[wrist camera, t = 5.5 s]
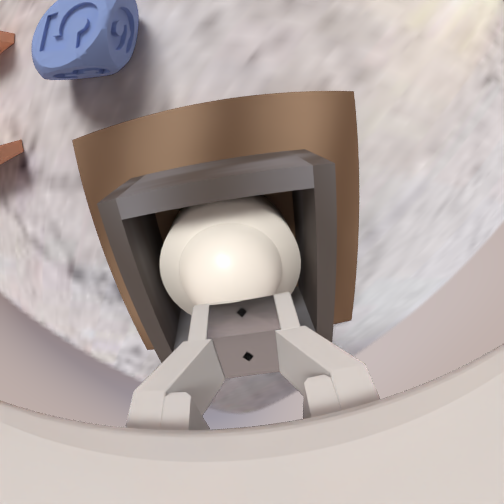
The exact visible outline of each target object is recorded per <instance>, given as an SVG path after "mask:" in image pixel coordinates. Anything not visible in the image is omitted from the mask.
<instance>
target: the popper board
mask: <svg viewBox="0 0 504 504" xmlns="http://www.w3.org/2000/svg"><path fill="white" fill-rule="evenodd" d="M72 141H73V146H74V151H75V155H76V160H77V164H78V169H79V173H80V177H81V181H82V184H83V188H84V192H85V195H86V199H87V202H88V206H89V209H90V212H91V216H92V219H93V222H94V225H95V228H96V231H97V234H98V237H99V240H100V243H101V246H102V248H103V251H104V254H105V256H106V259H107V262H108V264H109V267H110V270H111V272H112V275H113V277H114V279H115V282H116V284H117V287H118V289H119V291H120V294H121V296H122V298H123V301H124V303H125V305H126V307H127V310H128V312H129V314H130V316H131V318H132V320H133V322H134V324H135V326H136V329H137V331H138V333H139V335H140V337H141V339H142V341H143V342H144V344H145V346H146V348H147V350H152V349H155V351H156V353H157V355H158V357H159V359H160V361H161V363H163V362H164V361H165V360H166V359H167V357H168V356H169V355H170V354H171V353H172V352H173V351H174V350H175V349H176V348H177V347H178V346H179V345H180V344H181V343H182V342H185V341H188V336H189V329H190V322H191V316H192V315H190V314H188V313H187V312H185V311H184V310H183V309H181V308H180V307H179V306H178V305H177V304H176V303H175V302H174V301H173V300H172V298H171V297H170V296H169V294H168V292H167V291H166V289H165V287H164V284H163V282H162V278H161V274H160V254H161V249H162V247H163V244H164V241H165V239H166V237H167V235H168V233H169V230H170V228H171V226H172V224H173V222H174V220H175V218H176V216H177V214H178V213H179V211H180V210H181V209H182V208H183V207H188V206H194V205H200V204H205V203H211V202H217V201H223V200H230V199H236V198H243V197H249V196H256V195H263V196H264V197H266V198H267V199H269V200H270V201H271V202H272V203H273V204H274V205H275V206H276V207H277V208H278V209H279V211H280V212H281V214H282V215H283V217H284V219H285V221H286V223H287V225H288V226H289V228H290V230H291V232H292V234H293V236H294V238H295V240H296V242H297V244H298V248H299V251H300V258H301V270H300V275H299V279H298V282H297V285H296V287H295V289H294V291H293V292H292V294H291V297H292V300H293V303H294V307H295V310H296V313H297V316H298V320H299V323H300V326H307V327H308V328H310V329H311V330H313V331H314V332H316V333H317V334H319V335H321V336H322V337H324V338H325V339H327V340H328V341H330V342H332V335H333V324H336V323H341V322H345V321H350V320H351V319H352V311H353V302H354V292H355V280H356V268H357V252H358V230H359V159H358V137H357V122H356V110H355V99H354V91H309V92H288V93H274V94H263V95H253V96H245V97H237V98H230V99H223V100H217V101H211V102H205V103H200V104H194V105H189V106H185V107H180V108H175V109H171V110H167V111H163V112H159V113H155V114H151V115H147V116H143V117H140V118H136V119H133V120H129V121H126V122H123V123H119V124H116V125H113V126H110V127H107V128H104V129H101V130H98V131H95V132H93V133H90V134H87V135H85V136H82V137H79V138H77V139H74V140H72Z"/></svg>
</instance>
